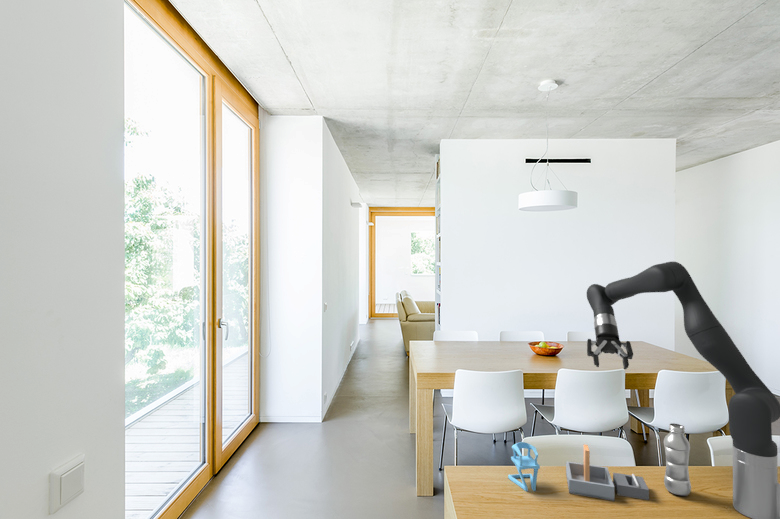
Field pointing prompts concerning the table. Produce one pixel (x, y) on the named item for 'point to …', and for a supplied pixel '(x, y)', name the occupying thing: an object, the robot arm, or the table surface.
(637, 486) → the ticket dispenser
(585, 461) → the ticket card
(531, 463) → the chair
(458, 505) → the table surface
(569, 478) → the tray
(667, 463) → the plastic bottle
